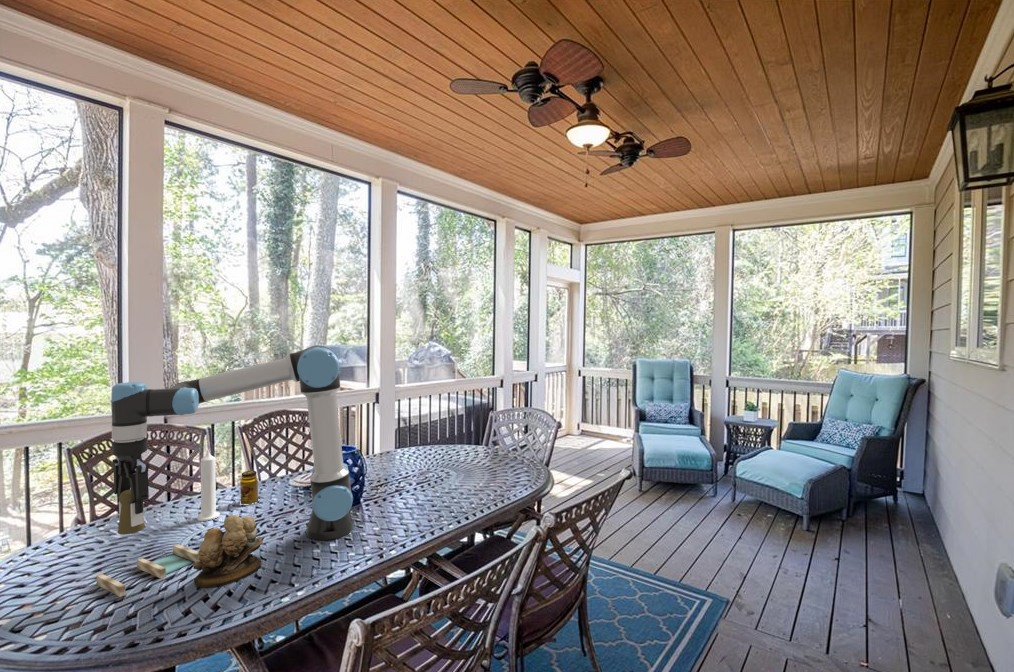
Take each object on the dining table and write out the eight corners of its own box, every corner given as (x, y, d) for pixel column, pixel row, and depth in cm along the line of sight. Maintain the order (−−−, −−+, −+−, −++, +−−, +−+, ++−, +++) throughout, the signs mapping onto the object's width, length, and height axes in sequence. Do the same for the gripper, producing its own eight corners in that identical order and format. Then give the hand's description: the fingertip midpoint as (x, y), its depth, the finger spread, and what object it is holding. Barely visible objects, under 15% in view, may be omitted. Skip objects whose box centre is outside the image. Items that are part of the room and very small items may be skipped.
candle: (192, 518, 171) (192, 450, 170) (212, 511, 177) (212, 446, 176) (204, 522, 168) (203, 453, 167) (224, 515, 174) (223, 448, 173)
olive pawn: (114, 536, 126) (113, 495, 126) (120, 527, 132) (119, 488, 131) (142, 531, 129) (142, 492, 129) (147, 523, 134) (146, 485, 134)
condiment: (238, 506, 183) (238, 475, 182) (240, 498, 191) (240, 469, 190) (259, 503, 186) (259, 473, 185) (261, 496, 193) (261, 467, 193)
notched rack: (231, 547, 150) (231, 539, 150) (120, 596, 123) (120, 587, 123) (208, 539, 156) (208, 531, 156) (96, 584, 128) (96, 575, 128)
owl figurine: (253, 554, 146) (254, 500, 146) (271, 567, 139) (272, 510, 138) (186, 579, 132) (187, 519, 131) (203, 595, 125) (203, 531, 124)
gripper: (164, 440, 129) (165, 523, 130) (127, 432, 137) (129, 511, 138) (132, 446, 122) (133, 534, 123) (96, 438, 130) (98, 521, 131)
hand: (131, 522), depth 130 cm, fingers closed on olive pawn, 5 cm apart
